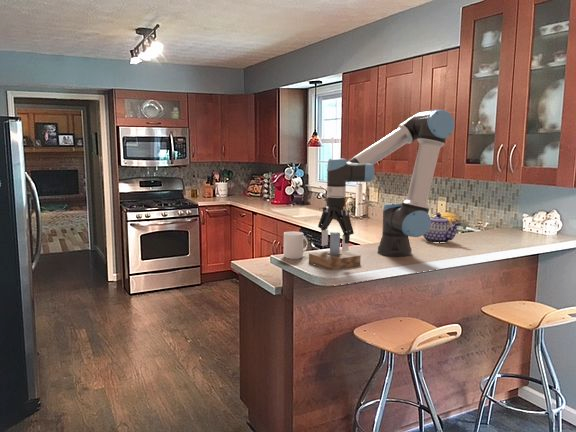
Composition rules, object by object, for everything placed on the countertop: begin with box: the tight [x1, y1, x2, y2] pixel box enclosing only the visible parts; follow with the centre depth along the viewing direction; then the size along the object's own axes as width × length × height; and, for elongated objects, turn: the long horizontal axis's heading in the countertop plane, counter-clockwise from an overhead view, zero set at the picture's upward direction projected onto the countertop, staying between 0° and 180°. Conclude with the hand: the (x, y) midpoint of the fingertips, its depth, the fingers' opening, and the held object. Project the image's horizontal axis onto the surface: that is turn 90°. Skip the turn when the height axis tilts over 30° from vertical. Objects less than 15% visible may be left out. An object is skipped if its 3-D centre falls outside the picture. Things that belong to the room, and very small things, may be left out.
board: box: [308, 249, 361, 271], centre depth 203 cm, size 16×14×4 cm
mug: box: [283, 231, 309, 260], centre depth 215 cm, size 9×12×11 cm
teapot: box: [422, 212, 461, 243], centre depth 252 cm, size 25×15×15 cm, turn 37°
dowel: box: [329, 231, 341, 256], centre depth 202 cm, size 4×4×12 cm
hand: (334, 248), depth 202 cm, fingers open, 13 cm apart
